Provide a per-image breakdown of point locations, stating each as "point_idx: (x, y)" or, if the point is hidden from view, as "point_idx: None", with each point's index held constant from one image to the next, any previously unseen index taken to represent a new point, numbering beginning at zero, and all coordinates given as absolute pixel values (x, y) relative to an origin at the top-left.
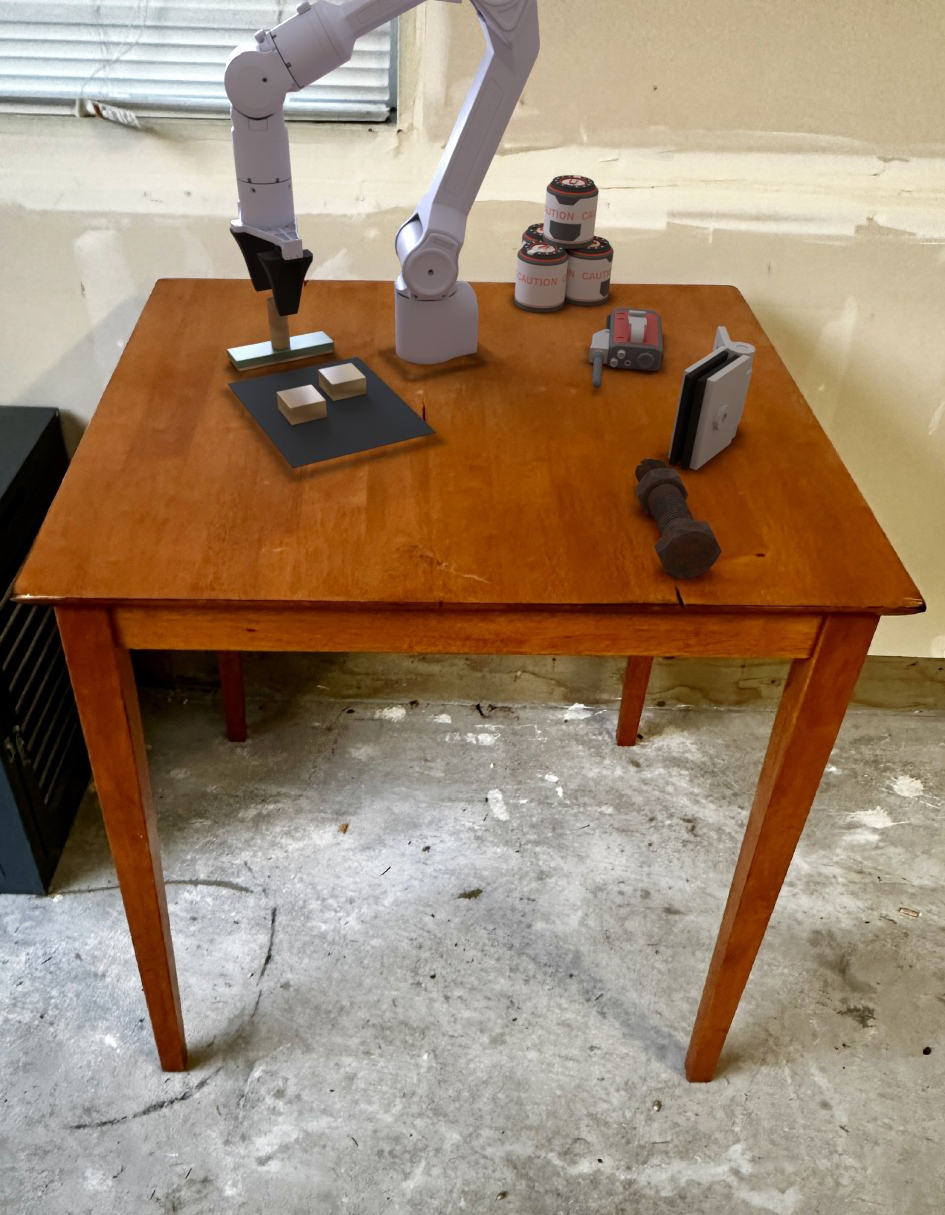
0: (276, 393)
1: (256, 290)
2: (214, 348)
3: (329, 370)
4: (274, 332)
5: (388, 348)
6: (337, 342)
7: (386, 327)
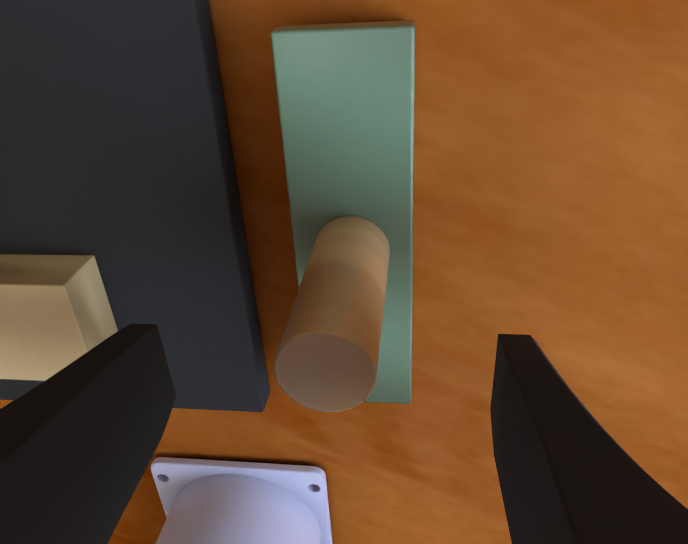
0: (59, 108)
1: (498, 337)
2: (652, 10)
3: (52, 312)
4: (316, 258)
5: (345, 482)
6: (445, 405)
7: (471, 526)
